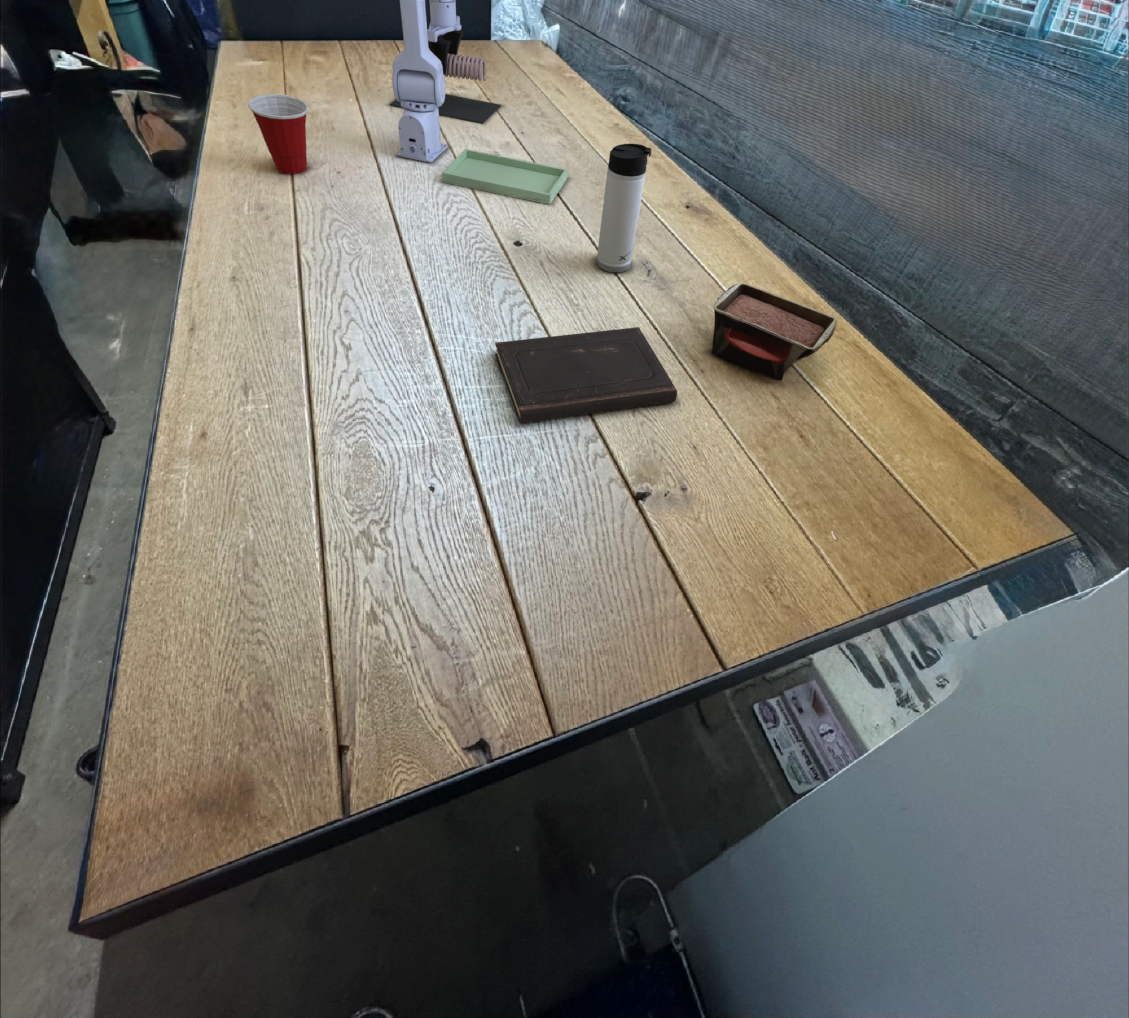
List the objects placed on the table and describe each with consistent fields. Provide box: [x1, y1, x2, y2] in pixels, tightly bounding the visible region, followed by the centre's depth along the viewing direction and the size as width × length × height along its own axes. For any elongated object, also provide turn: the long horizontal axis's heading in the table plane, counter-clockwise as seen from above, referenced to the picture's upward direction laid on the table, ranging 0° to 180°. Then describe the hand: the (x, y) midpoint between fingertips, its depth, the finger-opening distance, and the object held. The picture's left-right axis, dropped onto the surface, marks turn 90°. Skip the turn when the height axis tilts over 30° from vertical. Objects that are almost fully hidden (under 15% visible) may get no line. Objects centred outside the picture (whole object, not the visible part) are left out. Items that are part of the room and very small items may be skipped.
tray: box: [441, 148, 569, 205], centre depth 136 cm, size 13×23×2 cm, turn 74°
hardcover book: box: [494, 326, 678, 424], centre depth 95 cm, size 16×23×2 cm
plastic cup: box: [247, 93, 309, 175], centre depth 128 cm, size 11×11×12 cm
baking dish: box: [710, 282, 838, 381], centre depth 101 cm, size 14×18×10 cm
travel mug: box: [595, 143, 652, 273], centre depth 111 cm, size 6×7×20 cm
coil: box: [443, 53, 488, 82], centre depth 154 cm, size 5×5×18 cm
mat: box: [389, 93, 502, 125], centre depth 161 cm, size 13×24×1 cm, turn 74°
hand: (446, 69), depth 155 cm, fingers closed on coil, 5 cm apart
